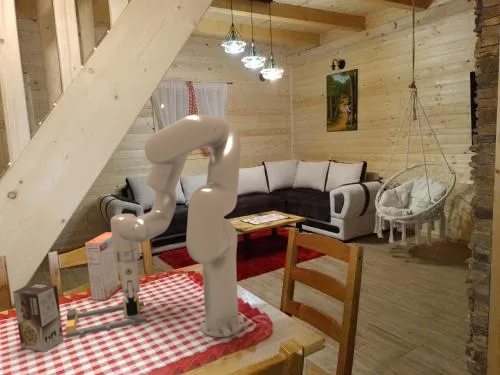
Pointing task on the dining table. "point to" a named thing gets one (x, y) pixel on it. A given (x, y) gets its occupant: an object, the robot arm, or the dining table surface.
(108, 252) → the cracker box
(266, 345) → the dining table surface
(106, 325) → the gray parallel rail frame
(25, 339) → the coffee box
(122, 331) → the dining table surface
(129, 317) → the supplement bottle
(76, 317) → the long yellow crossbar
